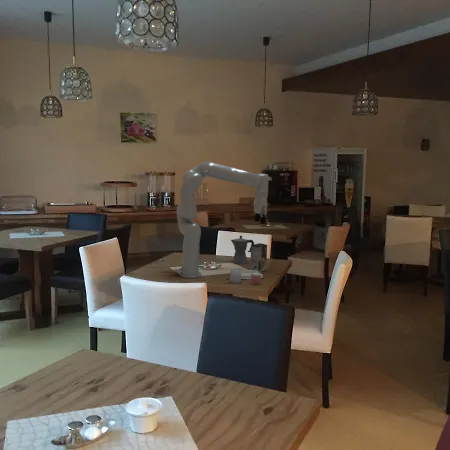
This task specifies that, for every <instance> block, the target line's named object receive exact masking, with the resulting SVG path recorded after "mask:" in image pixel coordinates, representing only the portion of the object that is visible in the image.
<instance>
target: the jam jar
mask: <svg viewBox="0 0 450 450" xmlns="http://www.w3.org/2000/svg"><path fill="white" fill-rule="evenodd" d="M261 274H262V273H261V272H252V273H251V279H250V284H251V283H254V284H258V283H260V284H261V279H260V275H261Z"/></svg>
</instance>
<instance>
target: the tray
mask: <svg viewBox="0 0 450 450" xmlns="http://www.w3.org/2000/svg"><path fill="white" fill-rule="evenodd" d="M241 270H242V269H241ZM252 272H258V271H257V270H250V269H248V270H247V269H246V270H245V269H244V270H242V271H241V279H247V280H251V273H252ZM260 278H264V276H263V274H262V273H261V275H260Z"/></svg>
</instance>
